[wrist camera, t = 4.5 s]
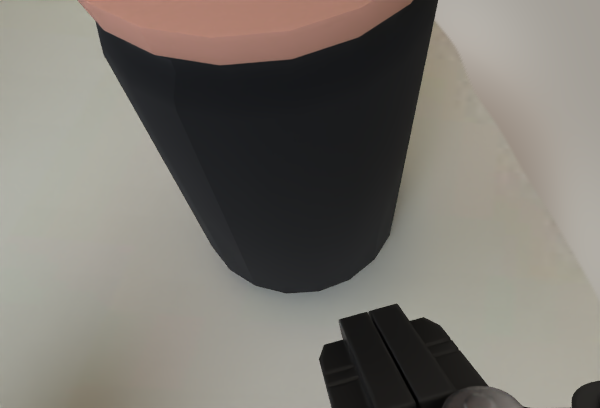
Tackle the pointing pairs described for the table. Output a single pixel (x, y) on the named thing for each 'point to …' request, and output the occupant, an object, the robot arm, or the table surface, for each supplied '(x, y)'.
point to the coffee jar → (277, 121)
